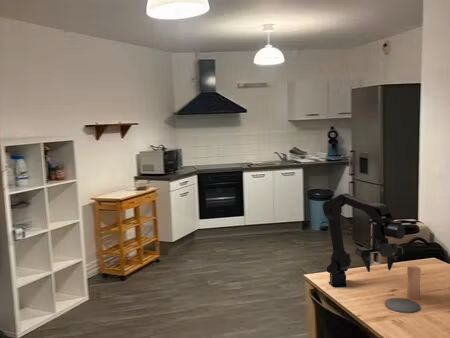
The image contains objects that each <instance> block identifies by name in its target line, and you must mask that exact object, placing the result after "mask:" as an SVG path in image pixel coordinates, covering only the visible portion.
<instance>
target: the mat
mask: <svg viewBox="0 0 450 338" xmlns="http://www.w3.org/2000/svg"><path fill="white" fill-rule="evenodd" d="M384 305H385V307H386V308H387V309H388V310H390V311H393V312H396V313H403V314H413V313H417V312H419V311H420V307H421V306H420V304H419V303H418V302H416V301H414V300H413V299H410V298H402V297H401V298H400V297H393V298H389V299H386V300H385V301H384Z"/></svg>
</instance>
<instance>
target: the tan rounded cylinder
mask: <svg viewBox="0 0 450 338" xmlns="http://www.w3.org/2000/svg"><path fill="white" fill-rule="evenodd" d="M406 270H407V271H406V272H407V274H406V276H407V277H406V297H407V299H410V300H419V299H421V275H422V274H421V273H422V272H421V271H422V268H421V267H419V266H415V265H414V266H413V265H411V266H410V265H409V266H407V268H406Z"/></svg>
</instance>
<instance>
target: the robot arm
mask: <svg viewBox="0 0 450 338" xmlns="http://www.w3.org/2000/svg"><path fill="white" fill-rule="evenodd" d="M345 205H347V206H350V207H352V208H355V209H357V210H359V211H361V212H364V213H365V215H366V216H368V217H370V219H368V220H367V223H368V224H371V235H370V239H371V244H370V246H369V248H370V249H369V248H367V247H364V246H361V247H360V246H359V247H356V249H355V253H354V254H355V255H356V256H358V257H360V258H361V259H362V261H363V264H364V266H365V268H366V270H367V272H368V273H370V272H371V270H370V269H371V261H370V260H371V255H372V254H380V256H381V257H383V258H387V259H386V262H387V263H386V264H387V265H386V266H387V270H388V271H391V269H392V267H393V264H394V262H395V260H396V259H397V258H398V257H401V256H402V255H403V254H404V248H403V247H402V246H399V245H398V243H389V238H394V239H398V240H402V239H404V237H405V234H406V229H405V226H404V225H403V221H395V219H394V217H393V215H392V213H391V212H390V210H389V208H388V205H386V204H385V203H378V202H370V201H367V200H365V199H362V198H359V197H357V196H354V195H351V194H349V193H347V192H345V193H340V194H338V195H337V196H335V197H332V199H329V200H326V201H324V202H323V203H322V211H323V214H324V216H325V217H326V219H327V220H328V225H329V232H330V236H331V237H330V238H331V245H332V254H331V257H330V264H329V265H327V267H326V271H327V273H329V281H328V282H327V283H328V284H329V285H331V287H333V288H341V287H347V286H348V285H347V275H346V272H347V271H348V270H349V268H350V267H351V263H352V260H351V254H350V253H349V252H348V253H347V251H346V250H345V247H344V246H345V245H344V239H343V234H342V233H343V231H342V227H341V220H340V218H341V216H342V213H343V212H342V211H343V210H342V207H344V206H345Z"/></svg>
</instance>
